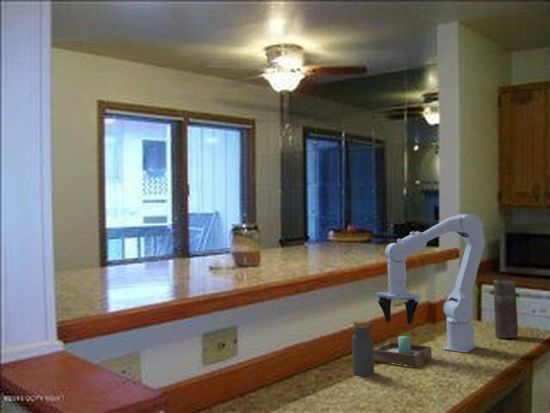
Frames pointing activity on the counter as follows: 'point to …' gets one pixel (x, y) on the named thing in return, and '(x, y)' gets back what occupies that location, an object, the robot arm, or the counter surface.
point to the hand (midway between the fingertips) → (399, 322)
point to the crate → (401, 354)
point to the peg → (404, 345)
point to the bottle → (362, 348)
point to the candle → (505, 309)
